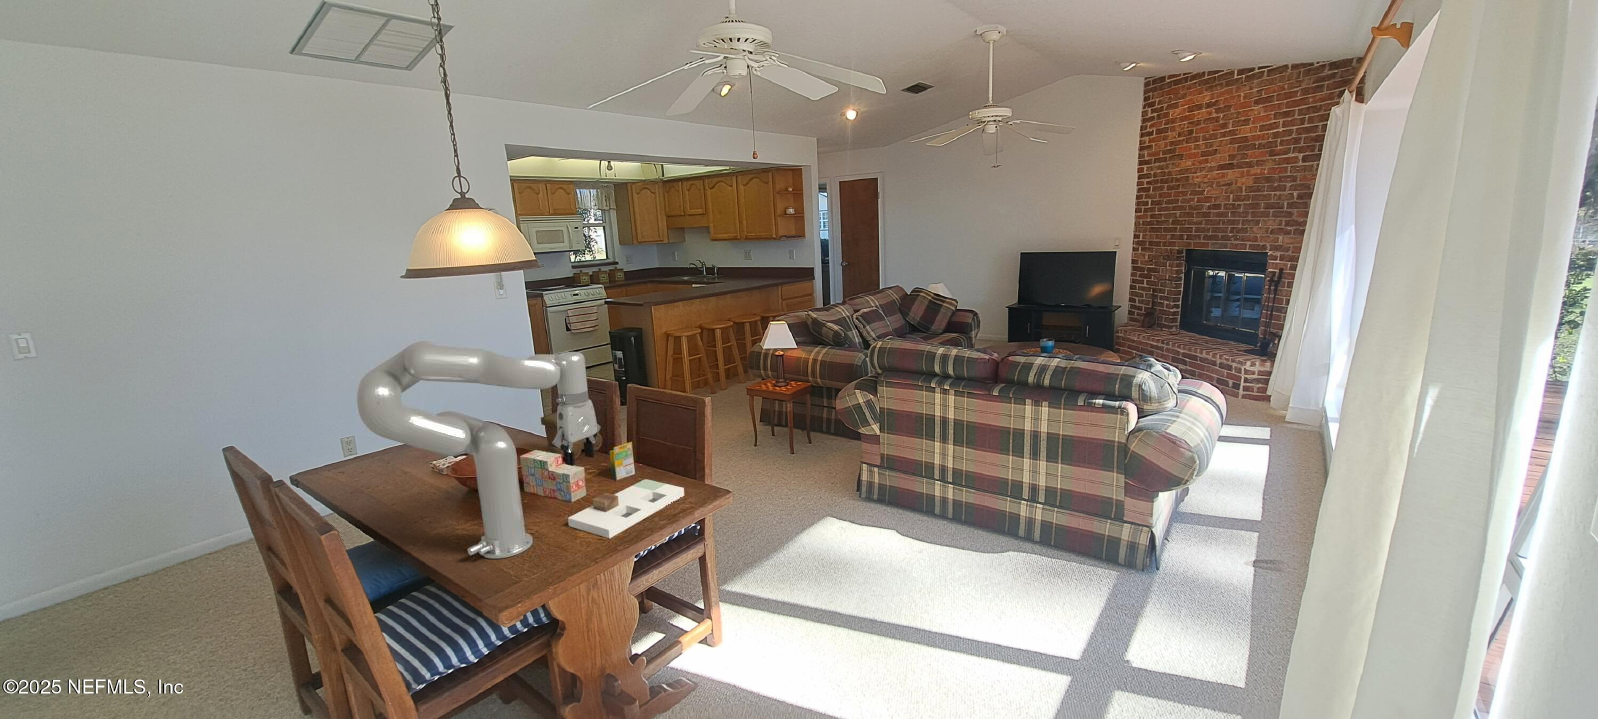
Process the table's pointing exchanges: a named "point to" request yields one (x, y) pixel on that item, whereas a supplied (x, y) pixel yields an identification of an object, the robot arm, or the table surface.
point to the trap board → (627, 508)
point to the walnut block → (605, 502)
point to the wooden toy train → (551, 433)
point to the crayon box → (622, 461)
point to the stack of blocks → (552, 476)
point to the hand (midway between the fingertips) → (580, 460)
